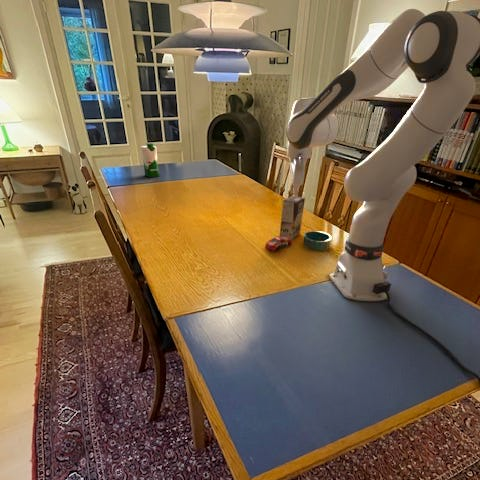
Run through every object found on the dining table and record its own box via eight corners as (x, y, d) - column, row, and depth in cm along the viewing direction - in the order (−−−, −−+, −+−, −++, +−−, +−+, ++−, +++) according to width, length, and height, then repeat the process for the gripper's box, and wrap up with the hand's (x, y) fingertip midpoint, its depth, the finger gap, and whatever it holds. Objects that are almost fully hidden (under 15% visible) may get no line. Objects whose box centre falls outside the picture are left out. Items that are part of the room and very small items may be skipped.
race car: (283, 240, 148) (284, 232, 146) (293, 244, 145) (294, 235, 143) (262, 248, 141) (263, 239, 138) (272, 253, 137) (273, 243, 135)
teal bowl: (331, 252, 140) (333, 242, 137) (304, 251, 140) (305, 241, 137) (326, 241, 149) (328, 231, 146) (301, 240, 149) (302, 230, 146)
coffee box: (292, 240, 149) (296, 203, 139) (279, 237, 151) (282, 200, 142) (300, 233, 155) (305, 197, 146) (287, 230, 158) (291, 195, 148)
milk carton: (149, 177, 228) (145, 144, 216) (143, 175, 233) (138, 142, 222) (161, 176, 232) (157, 143, 221) (154, 173, 238) (151, 141, 226)
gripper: (311, 158, 114) (304, 200, 122) (305, 146, 130) (300, 183, 138) (292, 157, 114) (287, 199, 122) (289, 145, 130) (284, 183, 139)
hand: (294, 190), depth 130 cm, fingers open, 8 cm apart
